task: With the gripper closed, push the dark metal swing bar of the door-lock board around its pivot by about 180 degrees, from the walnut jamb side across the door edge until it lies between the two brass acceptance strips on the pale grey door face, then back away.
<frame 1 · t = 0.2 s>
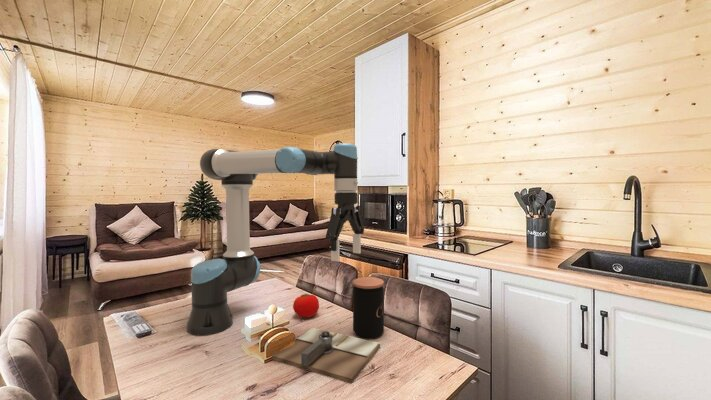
hand: (346, 256, 104), 28 cm above the table, fingers open, 13 cm apart
lock board: (325, 353, 96), on the table
tomato: (306, 316, 125), on the table
coffee jar: (368, 333, 110), on the table
swing bar: (317, 346, 92), point 4 cm above the table, hinge at 0.0°
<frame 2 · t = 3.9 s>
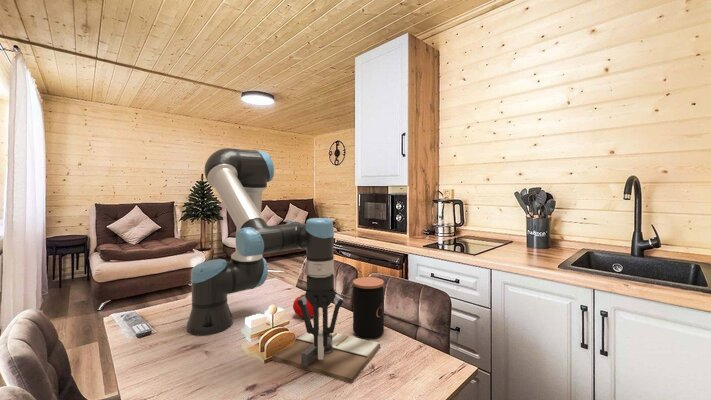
hand: (321, 356, 90), 3 cm above the table, fingers closed
swing bar: (317, 346, 92), point 4 cm above the table, hinge at 0.0°, touching gripper
everything else where it was.
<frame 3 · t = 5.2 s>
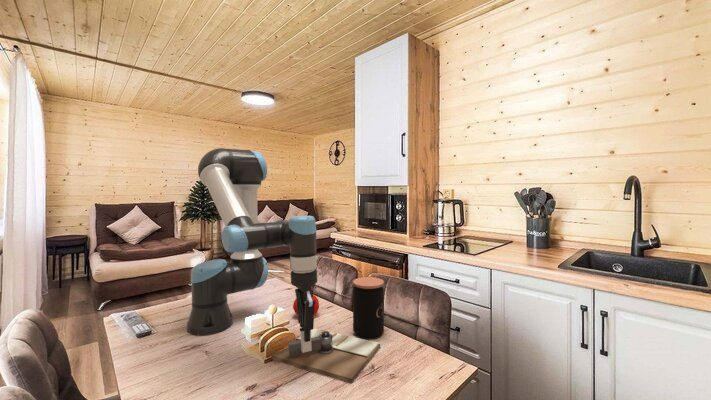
hand: (306, 350, 92), 3 cm above the table, fingers closed
swing bar: (311, 343, 94), point 4 cm above the table, hinge at -41.3°, touching gripper
everything else where it was.
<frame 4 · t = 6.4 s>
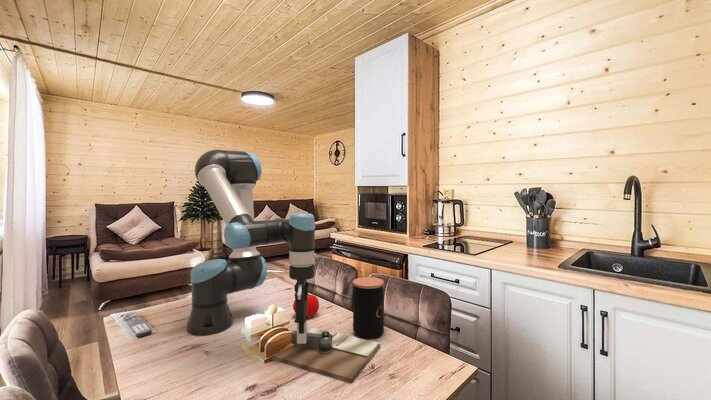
hand: (301, 342, 96), 3 cm above the table, fingers closed
swing bar: (311, 338, 97), point 4 cm above the table, hinge at -81.2°, touching gripper
everything else where it was.
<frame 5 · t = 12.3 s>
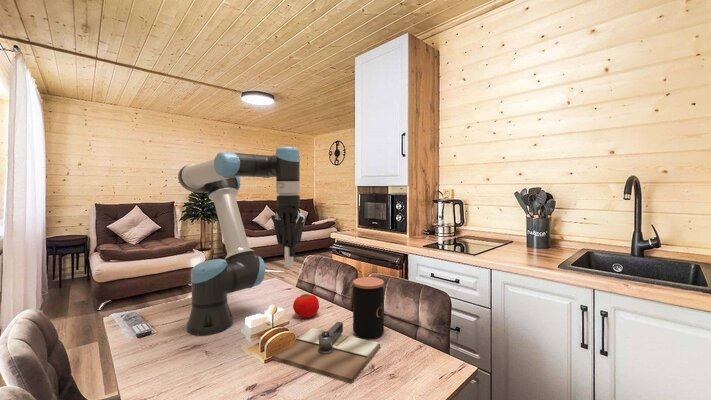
hand: (289, 265, 105), 24 cm above the table, fingers closed
swing bar: (331, 333, 100), point 4 cm above the table, hinge at -174.6°
everything else where it was.
at the end: swing bar at -175° (first picture: +0°) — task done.
